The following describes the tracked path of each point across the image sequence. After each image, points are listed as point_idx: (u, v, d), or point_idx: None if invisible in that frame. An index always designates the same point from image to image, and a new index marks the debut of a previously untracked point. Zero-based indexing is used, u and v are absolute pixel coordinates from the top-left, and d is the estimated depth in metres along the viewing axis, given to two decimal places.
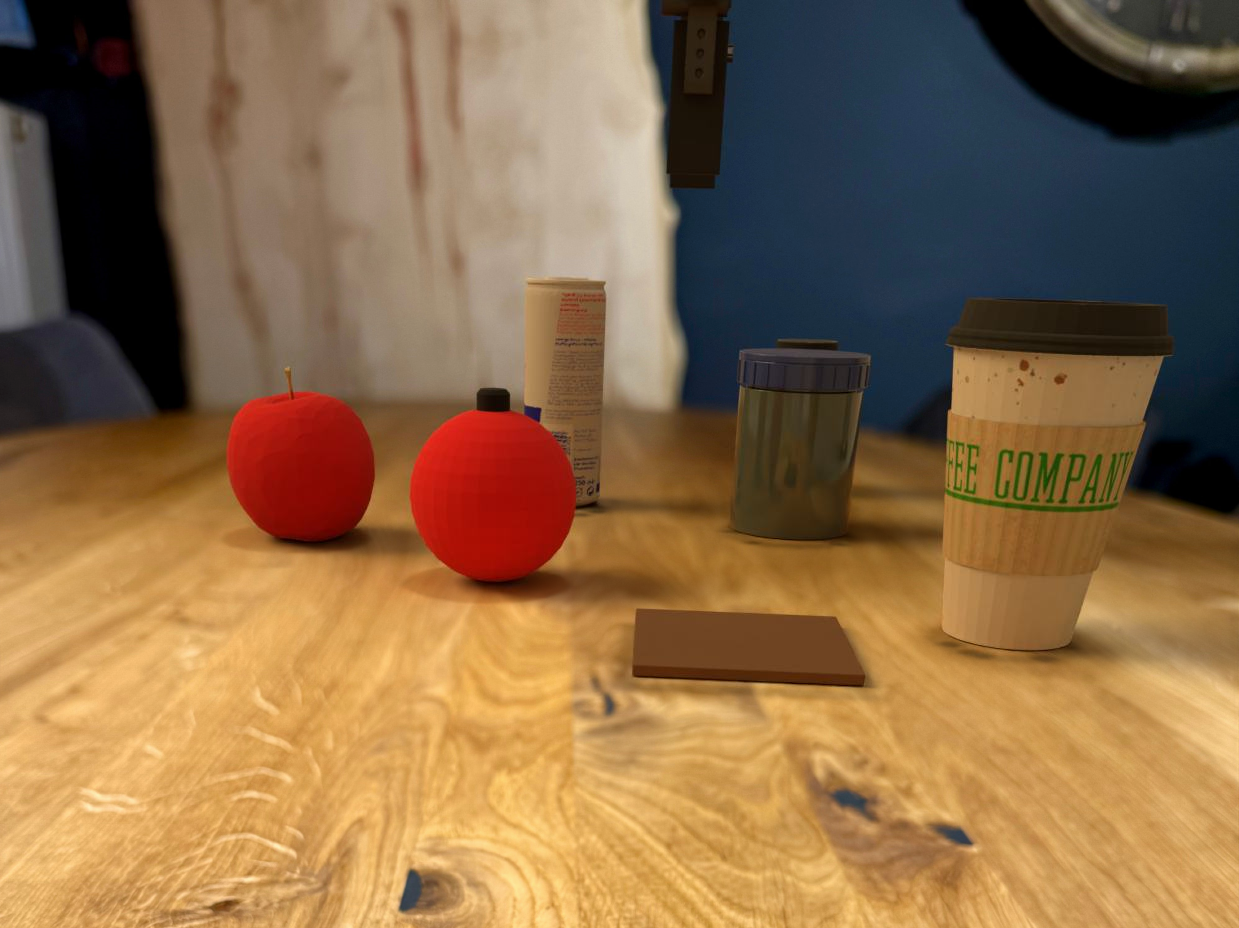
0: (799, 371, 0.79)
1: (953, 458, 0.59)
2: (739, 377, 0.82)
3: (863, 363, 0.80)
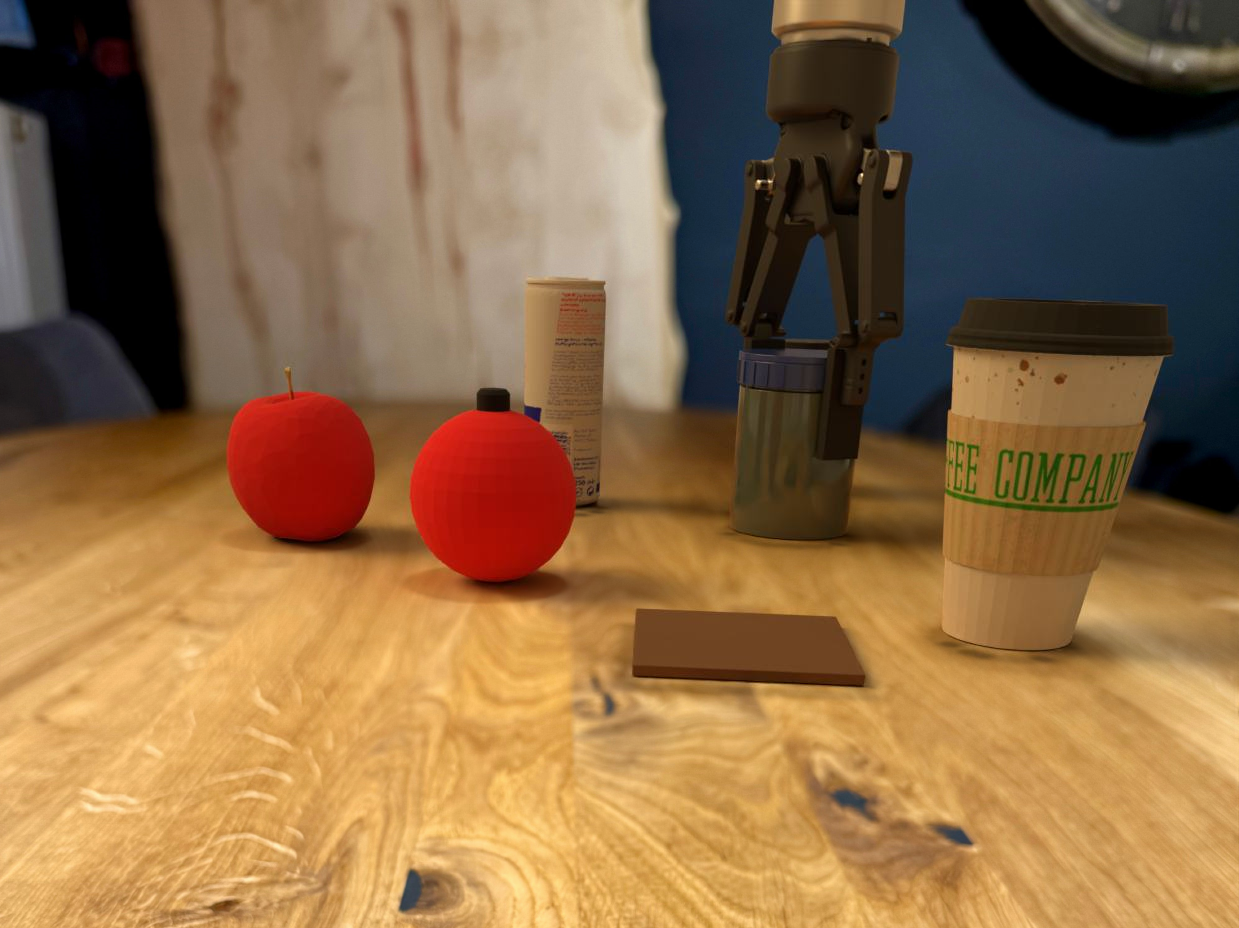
0: (798, 371, 0.79)
1: (953, 458, 0.59)
2: (739, 377, 0.82)
3: None
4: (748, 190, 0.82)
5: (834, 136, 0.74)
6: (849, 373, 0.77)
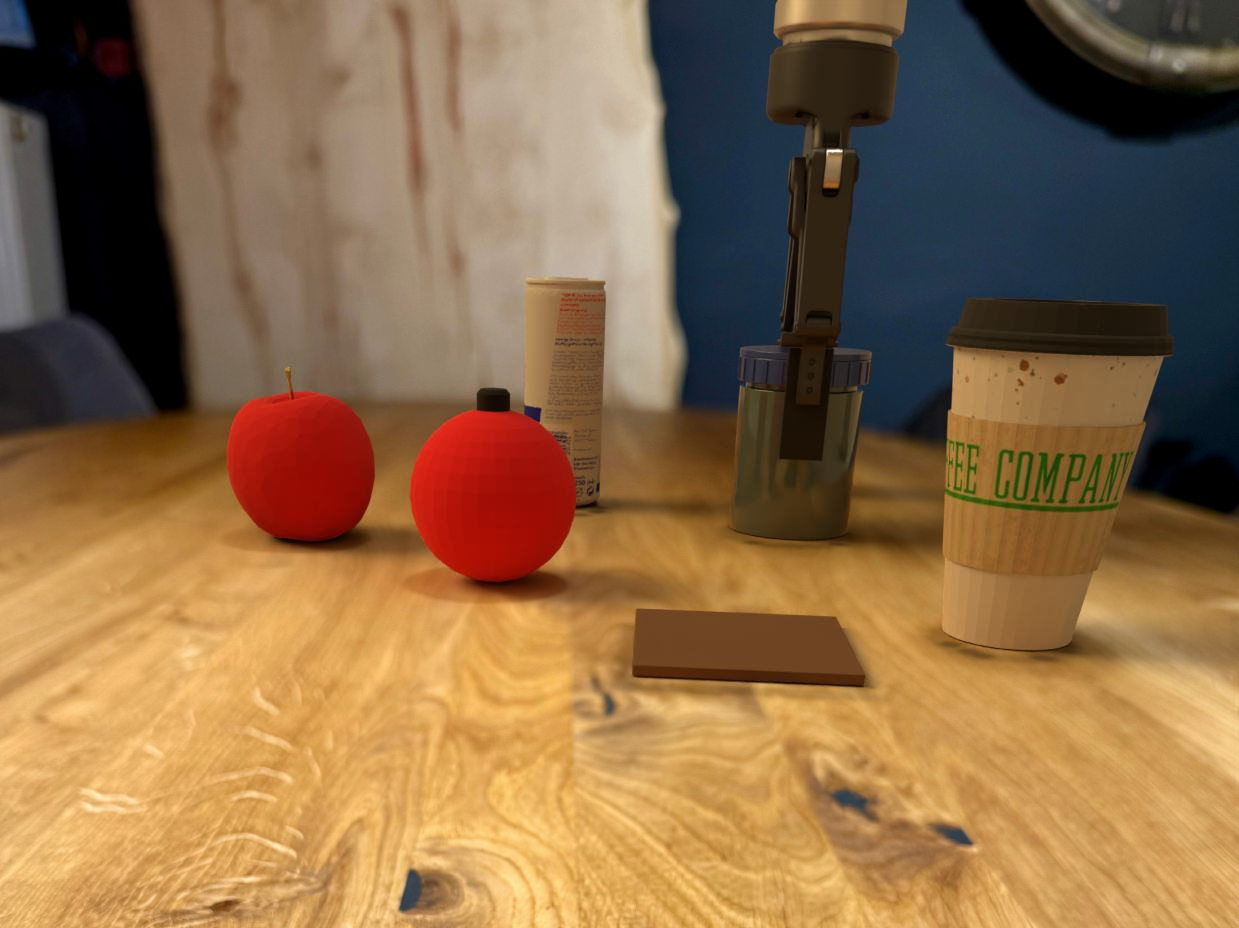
0: None
1: (953, 458, 0.59)
2: None
3: None
4: None
5: None
6: None
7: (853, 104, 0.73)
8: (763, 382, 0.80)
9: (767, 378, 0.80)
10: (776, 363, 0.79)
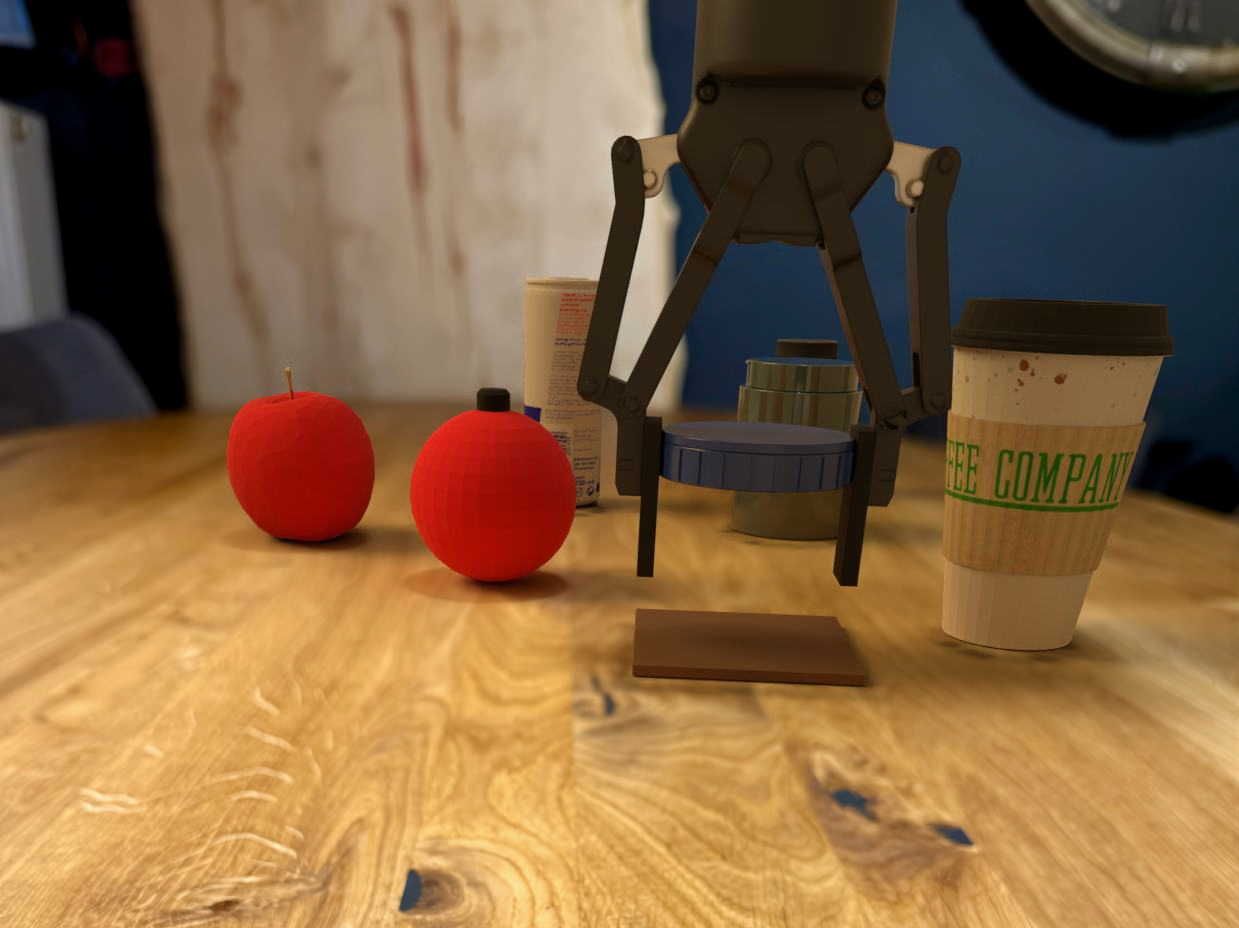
0: (837, 463, 0.53)
1: (953, 458, 0.59)
2: (726, 481, 0.52)
3: None
4: (624, 186, 0.50)
5: (848, 117, 0.49)
6: (889, 463, 0.55)
7: (698, 66, 0.48)
8: None
9: None
10: None
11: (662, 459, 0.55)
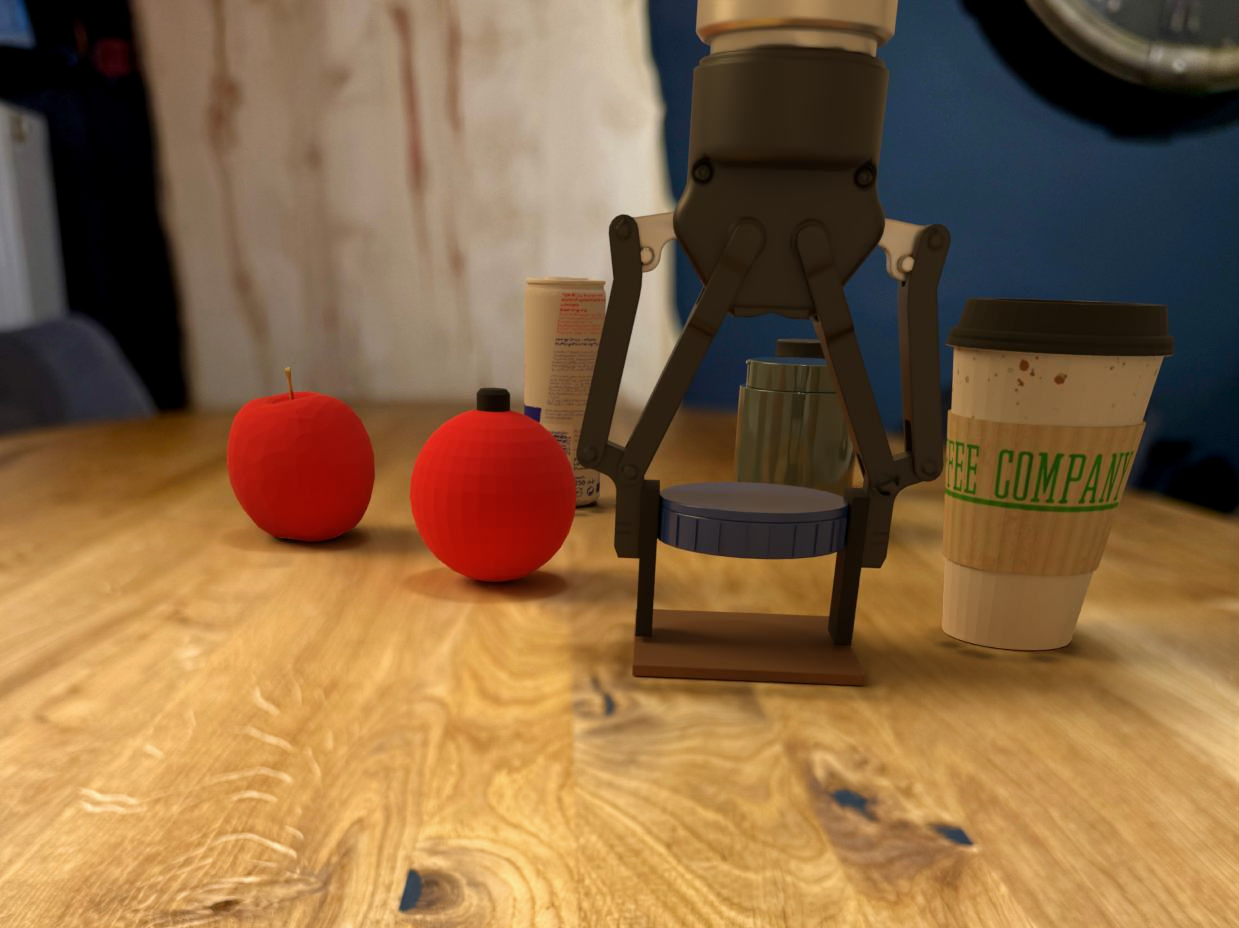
0: (831, 529, 0.54)
1: (953, 458, 0.59)
2: (722, 548, 0.53)
3: None
4: (622, 263, 0.51)
5: (840, 197, 0.50)
6: (882, 527, 0.56)
7: (693, 148, 0.49)
8: None
9: None
10: None
11: (660, 523, 0.56)
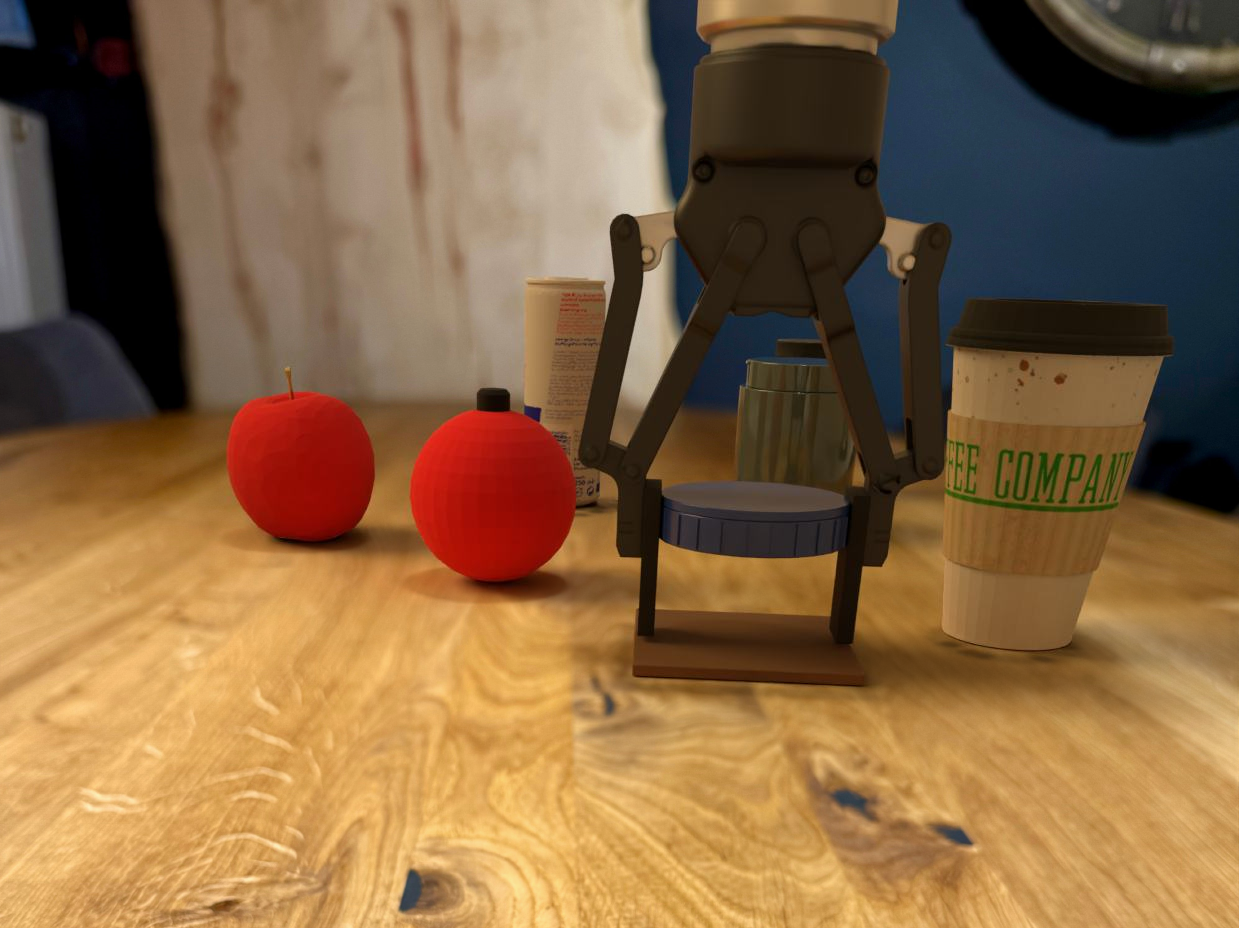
0: (833, 528, 0.54)
1: (953, 458, 0.59)
2: (724, 547, 0.53)
3: None
4: (623, 262, 0.51)
5: (841, 195, 0.50)
6: (883, 526, 0.56)
7: (694, 147, 0.49)
8: None
9: None
10: None
11: (661, 523, 0.56)
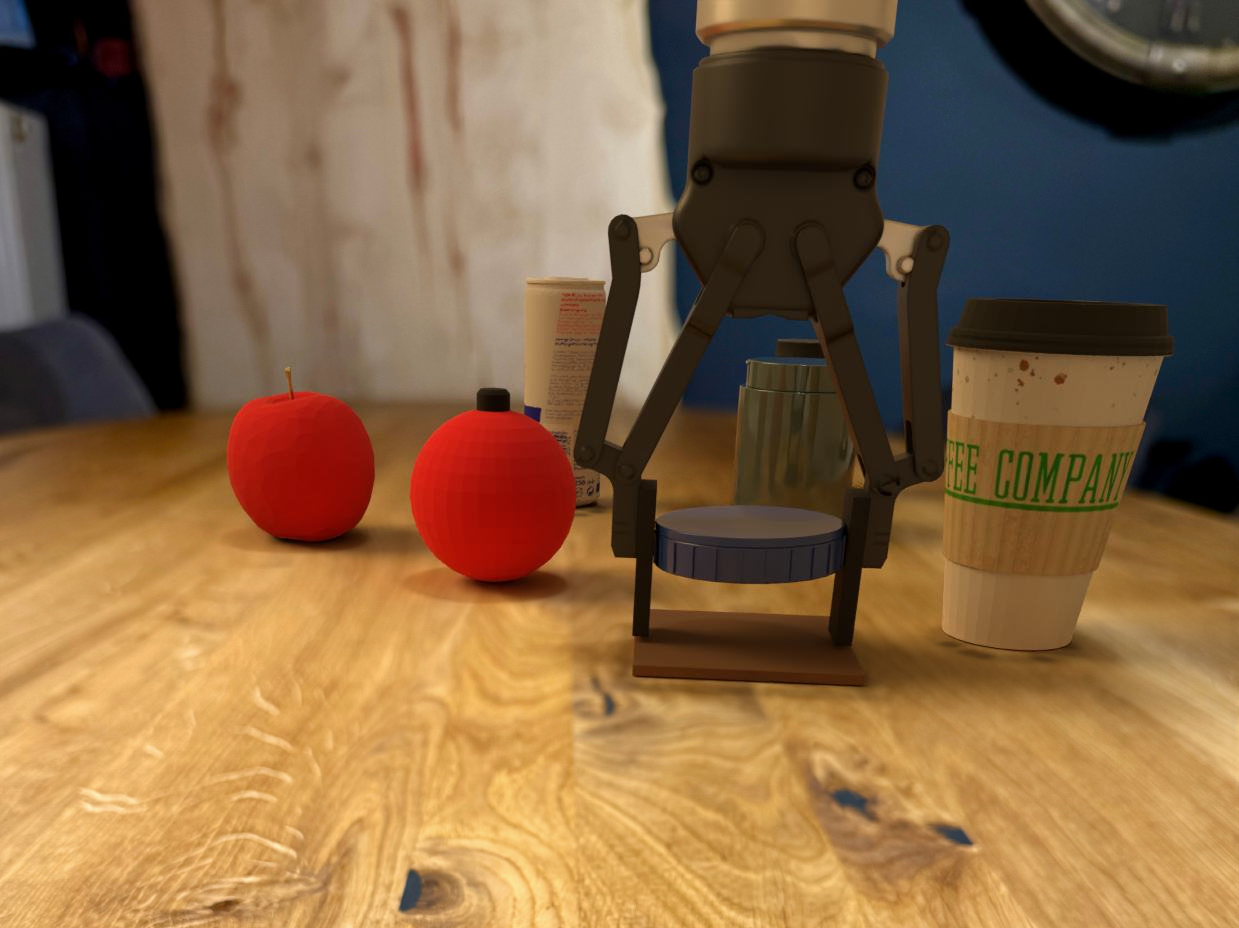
0: (827, 552, 0.54)
1: (953, 458, 0.59)
2: (719, 574, 0.54)
3: None
4: (621, 263, 0.51)
5: (839, 198, 0.50)
6: (882, 527, 0.56)
7: (693, 149, 0.49)
8: None
9: None
10: None
11: (657, 551, 0.56)
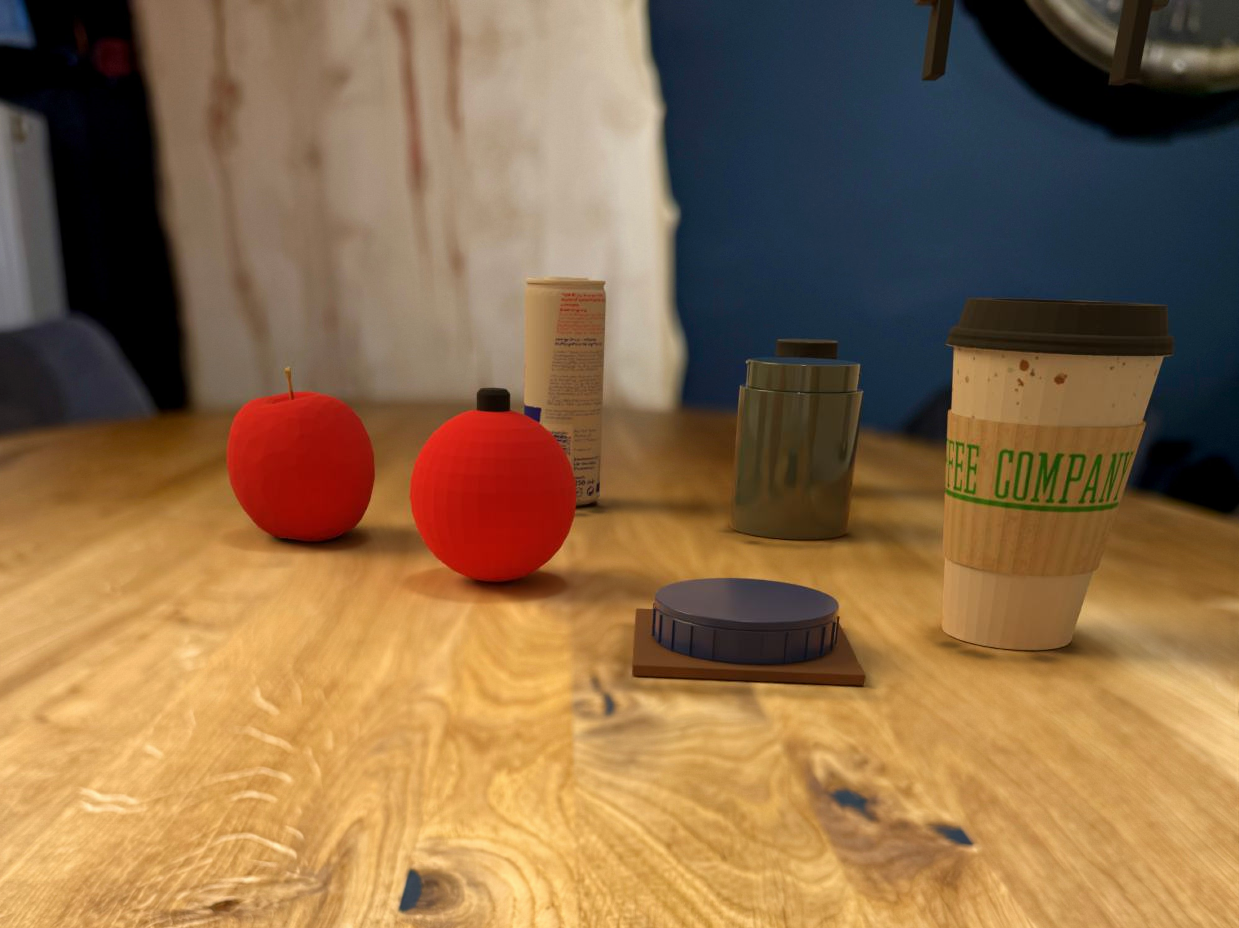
0: (821, 634, 0.56)
1: (953, 458, 0.59)
2: (716, 654, 0.55)
3: None
4: None
5: None
6: None
7: None
8: None
9: None
10: None
11: (656, 625, 0.58)
